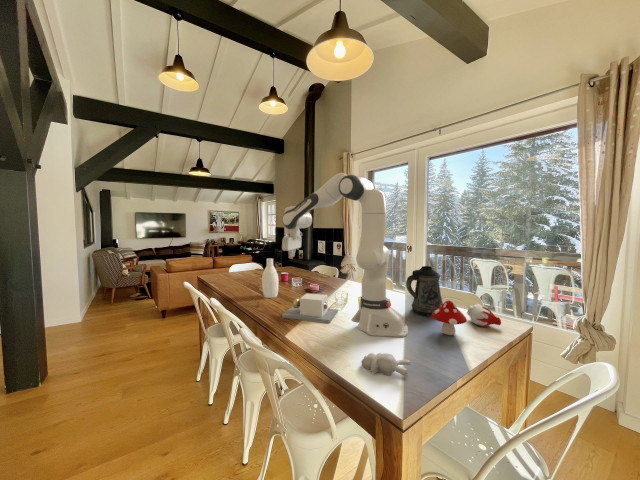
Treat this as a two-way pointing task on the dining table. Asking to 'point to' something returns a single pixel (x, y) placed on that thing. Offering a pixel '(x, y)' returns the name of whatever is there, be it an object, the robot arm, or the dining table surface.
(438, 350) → the dining table surface
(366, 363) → the bunny figurine
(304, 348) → the dining table surface
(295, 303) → the shaft
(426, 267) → the beer stein
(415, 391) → the dining table surface
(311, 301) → the bearing block
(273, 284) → the bottle
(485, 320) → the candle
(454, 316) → the decorative mushroom
